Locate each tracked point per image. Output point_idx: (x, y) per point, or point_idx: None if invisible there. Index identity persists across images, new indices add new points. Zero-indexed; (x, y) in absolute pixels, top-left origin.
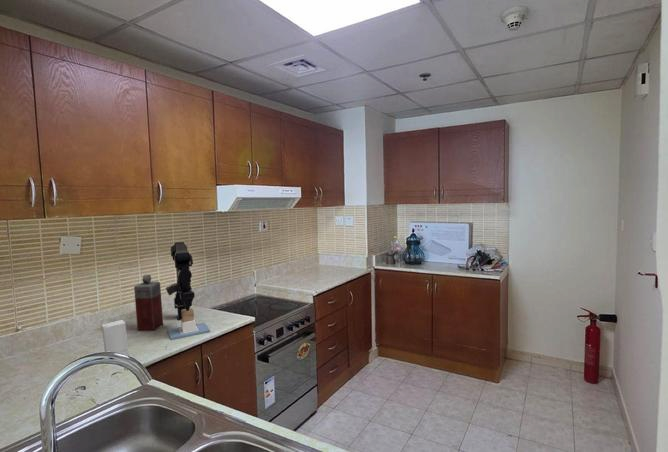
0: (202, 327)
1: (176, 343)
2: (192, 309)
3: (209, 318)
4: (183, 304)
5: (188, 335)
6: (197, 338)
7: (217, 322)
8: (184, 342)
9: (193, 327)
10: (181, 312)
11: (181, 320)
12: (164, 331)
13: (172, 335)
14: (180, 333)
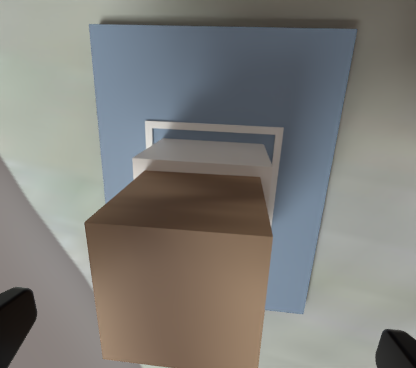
0: None
1: (10, 58)
2: (166, 364)
3: None
4: (406, 364)
5: (105, 162)
6: (46, 199)
7: (275, 363)
8: (8, 113)
9: None
10: (244, 215)
11: (229, 167)
12: (373, 2)
13: (148, 49)
14: (160, 117)
